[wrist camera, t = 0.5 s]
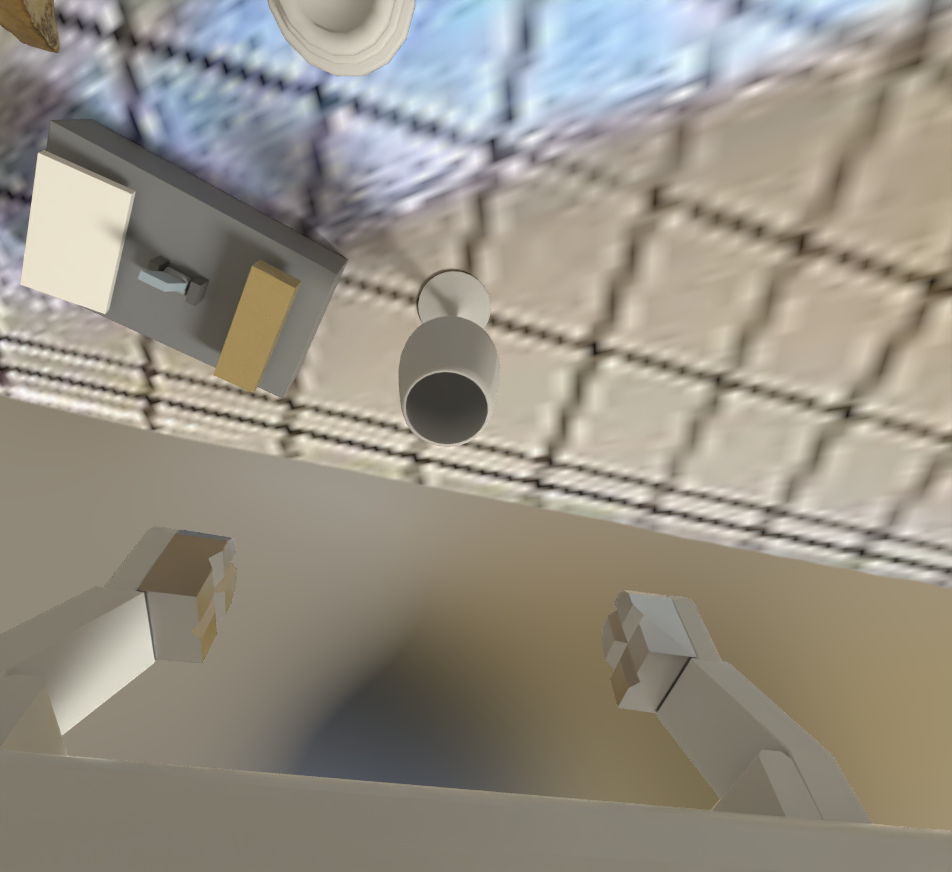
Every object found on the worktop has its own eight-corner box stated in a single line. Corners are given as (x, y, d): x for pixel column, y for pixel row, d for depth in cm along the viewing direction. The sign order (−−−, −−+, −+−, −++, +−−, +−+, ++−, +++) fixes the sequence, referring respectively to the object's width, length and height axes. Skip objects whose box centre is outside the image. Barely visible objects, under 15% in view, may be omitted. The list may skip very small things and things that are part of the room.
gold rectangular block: (260, 259, 44) (251, 265, 43) (301, 281, 45) (295, 288, 44) (222, 365, 49) (213, 374, 48) (260, 383, 50) (253, 392, 49)
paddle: (171, 267, 46) (143, 265, 41) (195, 278, 47) (170, 278, 41) (164, 283, 46) (135, 284, 41) (188, 295, 47) (162, 297, 41)
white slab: (44, 150, 39) (37, 152, 39) (135, 191, 42) (131, 194, 41) (26, 279, 44) (20, 284, 44) (109, 309, 47) (105, 314, 46)
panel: (90, 118, 44) (33, 120, 39) (347, 259, 51) (332, 279, 45) (64, 267, 51) (13, 288, 45) (296, 376, 57) (276, 407, 51)
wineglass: (403, 286, 52) (368, 380, 34) (476, 256, 51) (479, 339, 33) (435, 353, 56) (418, 470, 38) (503, 327, 54) (519, 436, 37)
